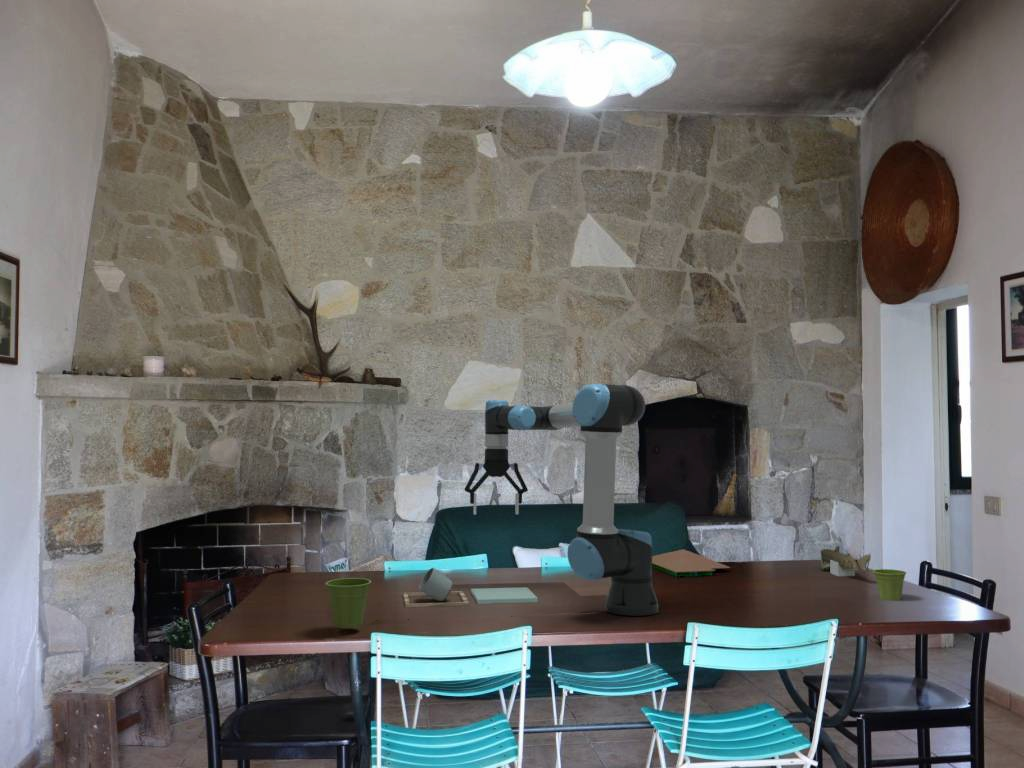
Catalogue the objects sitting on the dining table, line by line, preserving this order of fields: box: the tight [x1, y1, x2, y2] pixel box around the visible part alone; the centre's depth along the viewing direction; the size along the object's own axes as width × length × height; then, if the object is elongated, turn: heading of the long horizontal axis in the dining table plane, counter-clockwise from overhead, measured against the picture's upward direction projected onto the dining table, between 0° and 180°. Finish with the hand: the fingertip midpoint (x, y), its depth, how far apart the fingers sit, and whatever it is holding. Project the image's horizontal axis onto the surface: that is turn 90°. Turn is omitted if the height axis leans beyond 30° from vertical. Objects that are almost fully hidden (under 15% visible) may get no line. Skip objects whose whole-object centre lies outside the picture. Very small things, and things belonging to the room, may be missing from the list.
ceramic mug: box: [418, 567, 454, 603], centre depth 264 cm, size 11×8×8 cm
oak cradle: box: [402, 590, 470, 608], centre depth 264 cm, size 18×18×1 cm
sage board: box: [470, 586, 539, 605], centre depth 269 cm, size 18×18×1 cm
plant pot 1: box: [324, 577, 372, 629], centre depth 231 cm, size 12×12×11 cm
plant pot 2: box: [872, 568, 907, 602], centre depth 268 cm, size 9×9×9 cm
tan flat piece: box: [652, 549, 731, 578], centre depth 321 cm, size 23×33×8 cm
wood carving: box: [820, 545, 872, 577], centre depth 304 cm, size 9×35×11 cm, turn 5°
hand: (495, 514), depth 283 cm, fingers open, 13 cm apart
